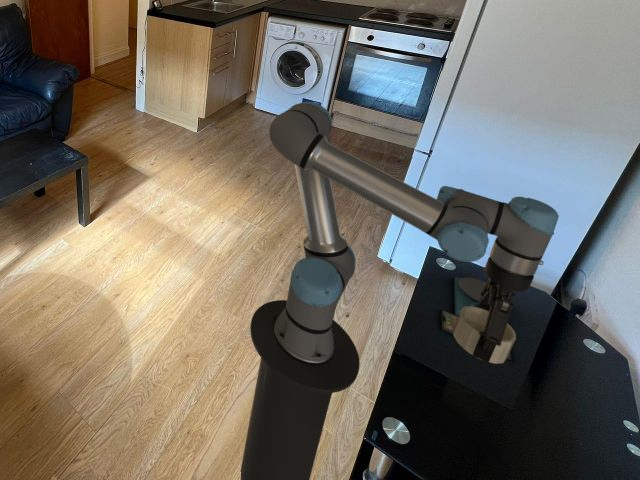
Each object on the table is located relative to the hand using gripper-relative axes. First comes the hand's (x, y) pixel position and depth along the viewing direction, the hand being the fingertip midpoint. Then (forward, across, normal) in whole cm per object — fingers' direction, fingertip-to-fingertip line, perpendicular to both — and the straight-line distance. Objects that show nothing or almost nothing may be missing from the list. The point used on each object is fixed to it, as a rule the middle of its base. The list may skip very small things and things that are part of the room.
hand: (479, 342), depth 95 cm
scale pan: (+12, +40, -5) cm, 42 cm away
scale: (+15, +37, -5) cm, 41 cm away
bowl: (+1, 0, 0) cm, 1 cm away
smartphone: (+16, +23, -3) cm, 28 cm away
